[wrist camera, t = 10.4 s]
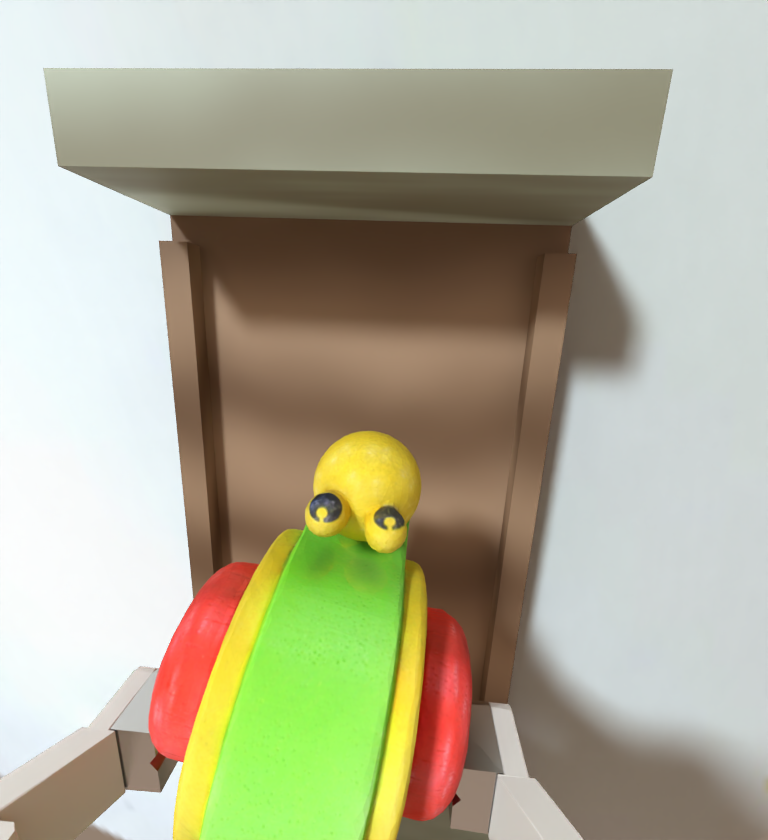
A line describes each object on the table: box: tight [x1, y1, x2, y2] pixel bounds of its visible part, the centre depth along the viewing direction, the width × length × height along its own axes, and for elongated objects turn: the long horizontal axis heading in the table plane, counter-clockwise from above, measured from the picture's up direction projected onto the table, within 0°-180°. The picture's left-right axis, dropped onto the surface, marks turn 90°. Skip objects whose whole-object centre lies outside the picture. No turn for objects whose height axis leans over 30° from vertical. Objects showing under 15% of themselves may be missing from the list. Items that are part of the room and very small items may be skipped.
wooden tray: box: [43, 68, 673, 840], centre depth 15 cm, size 30×14×6 cm, turn 177°
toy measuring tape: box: [148, 431, 472, 840], centre depth 10 cm, size 6×20×7 cm, turn 167°
